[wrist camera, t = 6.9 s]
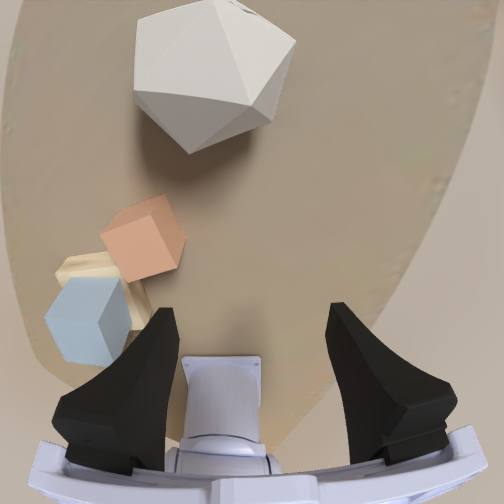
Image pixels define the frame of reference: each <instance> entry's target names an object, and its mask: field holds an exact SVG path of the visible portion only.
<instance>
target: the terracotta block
mask: <svg viewBox="0 0 504 504" xmlns="http://www.w3.org/2000/svg"><path fill="white" fill-rule="evenodd" d="M100 236H101V238H102V240H103V242H104V243H105V245H106V247H107V249H108V250H109V252H110V254H111V256H112V258H113V259H114V261H115V263H116V264H117V266H118V268H119V270H120V271H121V273H122V275H123V276H124V278H125V280H126V281H127V283H129V282H132V281H136V280H139V279H142V278H145V277H149V276H152V275H155V274H159V273H162V272H165V271H169V270H172V269H175V268H177V267H178V264H179V261H180V257H181V254H182V251H183V248H184V245H185V242H186V238H185V236H184V234H183V232H182V230H181V228H180V225H179V223H178V221H177V219H176V217H175V215H174V212H173V210H172V208H171V206H170V204H169V201H168V199H167V197H166V195H165V193H164V194H161V195H159V196H156V197H153V198H151V199H148V200H146V201H143V202H141V203H138V204H136V205H133V206H131V207H128V208H126V209H124V210H121V211H119V212H118V213H117V215H116V216H115V217H114V218H113V219H112V221H111V222H110V223H109V224H108V225H107V227H106V228H105V229H104V230H103V231H102V233H101V234H100Z"/></svg>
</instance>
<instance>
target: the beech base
mask: <svg viewBox="0 0 504 504" xmlns="http://www.w3.org/2000/svg"><path fill="white" fill-rule="evenodd" d="M55 275H56V277H57V279H58V281H59V284H60V286H61V288H62V289H63V288H64V286H65V285H66V284H67V282H68V281H69V279H70V278H71V277H93V278H120V280H121V284H122V288H123V291H124V295H125V299H126V302H127V306H128V309H129V313H130V316H131V320H132V325H131V328H130V330H143V329H144V327H145V326H146V325H147V323H148V322H149V319H150V316H151V313H152V310H153V309H152V307H151V304H150V302H149V299H148V296H147V294H146V291H145V289H144V286H143V283H142V281H141V279H139V280H136V281H132V282H129V283H127V281H126V280H125V278H124V276H123V275H122V273H121V271H120V270H119V268H118V266H117V264H116V263H115V261H114V259H113V258H112V256H111V254H110V252H109V251H106V252H99V253H92V254H86V255H80V256H73V257H68V258H67V259H66V260H65V262H64V263H63V264H62V266H61V267H60V268H59V269H58V271H57V272H56V273H55Z"/></svg>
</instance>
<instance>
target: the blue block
mask: <svg viewBox="0 0 504 504" xmlns="http://www.w3.org/2000/svg"><path fill="white" fill-rule="evenodd" d="M44 319H45V321H46V323H47V325H48V327H49V330H50V332H51V334H52V336H53V338H54V340H55V342H56V344H57V345H58V347H59V349H60V351H61V353H62V355H63V357H64V359H65V360H66V362H73V363H80V364H87V365H94V366H102V367H108V366H109V365H111V364H112V363H113V362H114V361H115V360H116V359H117V358H118V357H119V356H120V355H121V353H122V350H123V347H124V345H125V342H126V339H127V336H128V333H129V331H130V328H131V325H132V320H131V316H130V313H129V309H128V306H127V302H126V299H125V295H124V291H123V288H122V284H121V280H120V278H93V277H71V278H70V279H69V281H68V282H67V284H66V285H65V286H64V288H63V289H62V291H61V292H60V294H59V295H58V297H57V298H56V300H55V301H54V303H53V304H52V306H51V307H50V309H49V310H48V312H47V314H46V315H45V317H44Z"/></svg>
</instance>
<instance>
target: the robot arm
mask: <svg viewBox="0 0 504 504" xmlns="http://www.w3.org/2000/svg"><path fill="white" fill-rule="evenodd" d="M325 337H326V343H327V349H328V354H329V357H330V360H331V364H332V367H333V370H334V373H335V376H336V380H337V383H338V386H339V389H340V392H341V396H342V401H343V407H344V413H345V419H346V426H347V432H348V443H349V454H350V465H347V466H342V467H337V468H329V469H322V470H315V471H308V472H298V473H286V474H282V470H281V466H280V463H279V461H278V460H277V459H276V458H275V457H274V456H273V455H272V454H266V450H265V444H260V426H259V406H260V404H261V358H260V357H259V356H226V357H200V356H184V357H182V360H181V362H182V366H183V370H184V373H185V377H186V380H187V384H188V387H189V390H188V398H187V407H186V415H185V424H184V433H183V438H181V439H180V448H176V447H172V448H171V449H170V450H169V451H167V452H166V453H165V433H166V418H167V407H168V400H169V395H170V390H171V386H172V381H173V377H174V373H175V368H176V364H177V359H178V351H179V340H180V339H179V334H178V330H177V326H176V321H175V317H174V312H173V308H161V307H160V308H159V309H158V310H157V311H156V313H155V314H154V315H153V317H152V318H151V319H150V321H149V322H148V323H147V325H146V326H145V327H144V329H143V330H142V331H141V332H140V334H139V335H138V336H137V337H136V339H135V340H134V341H133V342H132V343H131V344H130V345H129V347H128V348H127V349H126V350H125V351H124V352H123V353H122V354H121V355H120V356H119V357H118V358H117V359H116V360H115V361H114V362H113V363H112V364H111V365H109V366H108V367H107V368H106V369H105V370H103V371H102V372H101V373H99V374H98V375H97V376H96V377H94V378H93V379H91V380H90V381H88V382H87V383H85V384H84V385H82V386H80V387H79V388H77V389H75V390H74V391H72V392H70V393H68V394H66V395H64V396H62V397H61V398H60V400H59V403H58V405H57V407H56V410H55V413H54V416H53V419H52V424H53V427H54V428H55V429H56V430H57V431H58V433H59V434H60V435H61V436H62V437H63V438H64V439H65V440H66V441H67V442H68V443H69V444H68V447H67V449H66V448H65V447H63V446H60V445H57V444H54V443H51V442H47V441H44V440H41V441H40V444H39V447H38V450H37V453H36V457H35V459H34V463H33V466H32V469H31V472H30V476H29V479H28V485H29V486H31V487H32V488H34V489H35V490H37V491H38V492H40V493H41V494H43V495H45V496H46V497H48V498H50V499H51V500H53V501H55V502H57V503H59V504H420V503H423V502H425V501H428V500H430V499H432V498H435V497H437V496H440V495H442V494H444V493H447V492H449V491H451V490H454V489H456V488H458V487H460V486H462V485H463V484H465V483H466V482H467V481H469V480H470V479H472V478H473V477H475V476H476V475H477V474H479V473H480V472H481V471H483V470H484V469H485V468H486V467H487V466H488V464H487V461H486V458H485V456H484V453H483V451H482V448H481V446H480V444H479V441H478V439H477V437H476V434H475V432H474V430H473V427H472V425H470V424H469V425H467V426H464V427H461V428H459V429H456V430H454V431H451V432H450V433H448V434H446V432H445V429H446V428H447V425H446V422H445V419H446V418H447V417H448V416H449V414H450V413H451V412H452V411H453V409H454V408H455V407H456V405H457V401H458V400H457V397H456V395H455V393H454V391H453V389H452V387H451V385H450V383H448V382H446V381H443V380H441V379H438V378H436V377H434V376H432V375H429V374H427V373H426V372H424V371H422V370H420V369H418V368H417V367H415V366H413V365H411V364H410V363H409V362H407V361H405V360H404V359H402V358H401V357H400V356H398V355H397V354H396V353H394V352H393V351H392V350H390V349H389V348H388V347H387V346H386V345H384V344H383V343H382V342H381V341H380V340H379V339H378V338H377V337H376V336H375V335H373V334H372V332H371V331H370V330H369V329H368V328H367V327H366V326H365V325H364V324H363V323H362V322H361V321H360V320H359V319H358V318H357V317H356V315H355V314H354V313H353V312H352V311H351V310H350V309H349V308H348V306H347V305H346V304H345V303H344V302H339V303H331V306H330V311H329V317H328V322H327V327H326V332H325Z"/></svg>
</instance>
